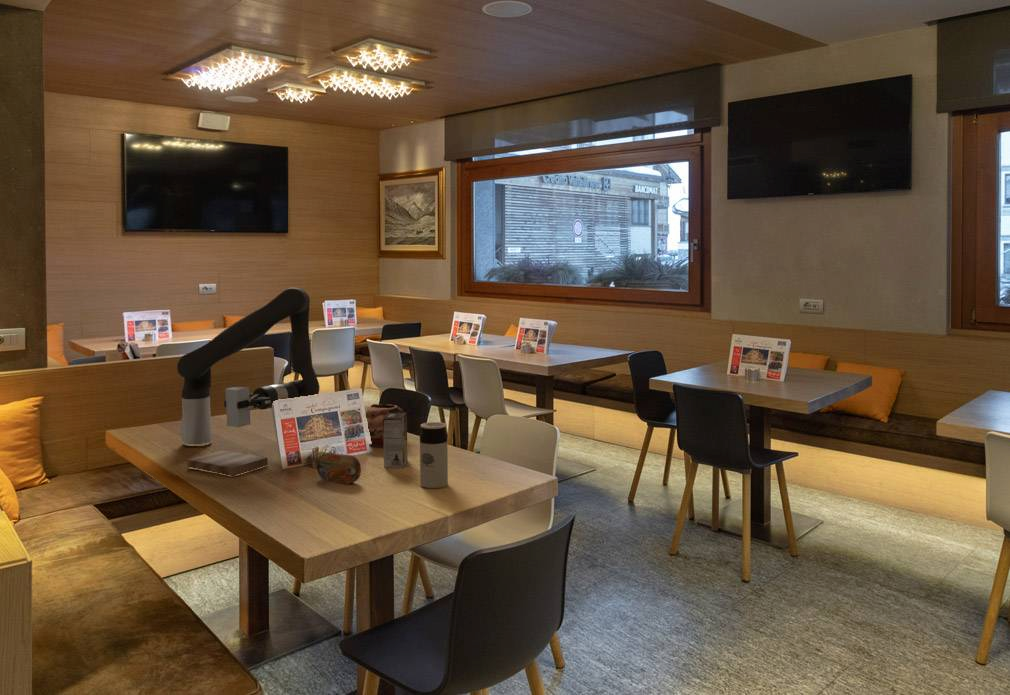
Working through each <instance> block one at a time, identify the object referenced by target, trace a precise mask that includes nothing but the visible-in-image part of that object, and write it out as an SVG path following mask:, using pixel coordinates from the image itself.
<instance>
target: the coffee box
mask: <svg viewBox="0 0 1010 695" xmlns="http://www.w3.org/2000/svg"><path fill="white" fill-rule="evenodd" d="M407 414H408V412H404V413H388V414H387V415H386V416H385V417H384V418H383V437H384V447H383V468H385V467H386V468H385V469H387V467H397V469H398V468H400V469H401V468H402V469H403V468H404V467H405V465H406V464H407V463H408V419H407V418H408V415H407Z"/></svg>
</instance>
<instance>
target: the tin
mask: <svg viewBox="0 0 1010 695" xmlns="http://www.w3.org/2000/svg"><path fill="white" fill-rule="evenodd" d="M316 470H317V474H318V476H319V477H320V479H321V480H323V481H325V482H329V481H330V483H336V484H337V483H338V484H343V485H350V484H352V483H354V482H357V481H358V479H359V478H360V476H361V473H362V472H361V471H362V468H361V463H360V461H359V459H358V458H357V457H356V456H354V455H352V454H342V453H336V452H327V453H323V454H321V455H320V456H319V457H318V459H317V461H316Z"/></svg>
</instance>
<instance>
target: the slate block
mask: <svg viewBox="0 0 1010 695" xmlns="http://www.w3.org/2000/svg"><path fill="white" fill-rule="evenodd" d="M249 394H250V387H246V386H238V385H237V386H232V387H226V388H225V400H226V407H225V408H226V409H225V410H226V412H225V413H226V426H227V427H234V428H242V427H246V426H249V425H251V407H250V408H248V407H246V408H242V409H237V402H240V401H245V400H248V399H249Z"/></svg>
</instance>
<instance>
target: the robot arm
mask: <svg viewBox="0 0 1010 695" xmlns="http://www.w3.org/2000/svg"><path fill="white" fill-rule="evenodd" d="M310 302H311V300H310V296H309V294H308V293H307V292H306V290H304V289H302V288H299V287H289V288H286V289H285V290H283V291H281V292H280V293H279V294H278V295H277V296H276V297H274V298H273V299H272V300H270V301H269V302H268V303H267V304H265V305H264V306H262V307H259V308H258V309H256V310H255V311H253V312H250V313H249V314H247V315H246V316H244V317H242V318H240V319H239V320H237V321H236V322H234V323H233V324H231V325H230V326H228V327H226V328H225V329H224V330H222V331H221V332H220V333H218V334H217V335H216V336H215V337H214V338H212V339H211V340H210V341H209V342H207V343H206V344H204V345H202V346H200V347H198V348H196V349H194V350H192V351H190V352H188V353H186V354H184V355H182V356H181V357H180V358H179V360H178V362H177V365H176V369H177V370H176V371H177V373H178V374H179V376H180V377H182V378H184V379H183V381H184V382H183V386H182V389H181V409H182V411H181V412H182V418H181V419H180V426H181V430H180V431H181V442H182V441H184V443H187V444H202V443H207V442H210V441H211V440H213V439H212V417H211V398H210V397H211V395H210V394H211V393H210V392H211V388H212V368H211V367H213V366H214V365H216V364H217V363H218V362H220V361H221V360H224V359H226V358H228V357H230V356H232V355H235V354H236V353H238V352H241V351H243V350H245V349H246V348H248V347H249V346H250V345H252V344H255V342H257V341H259V339H261V338H262V337H264V335H265V334H267V332H269V330H271V329H272V328H273V326H275V325H277V324H278V323H280V322H282V321H283V320H285V319H286V318H287V319H288V317H289V320H290V328H291V330H290V331H291V332H290V349H289V350H290V361H291V369H292V371H293V372H294V373H295V374H298V375H300V376H301V379H296V380H291V381H288V382H284V383H279V384H271V385H270V384H269V385H265V386H260V387H257V388H256V389H255V390H254V391H253V392H252V393H249V399H248V400H245V401H240V402H237V409H242V408H246V407H248V408H250V409H251V408H254V409H256V408H257V409H258V410H262V411H263V410H269V409H271V408H272V403H273V401H275V400H278V399H287V398H294V397H300V396H308V395H314V394H318V395H319V393H320V383H319V379H318V377H317V374H316V372H315V369H314V367H313V360H312V359H313V357H312V349H311V340H310V331H309V330H310V326H309V325H310V324H309V321H310V320H309V319H310ZM223 406H224V408H226V399H225V400H224V401H223ZM272 409H273V408H272Z"/></svg>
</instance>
